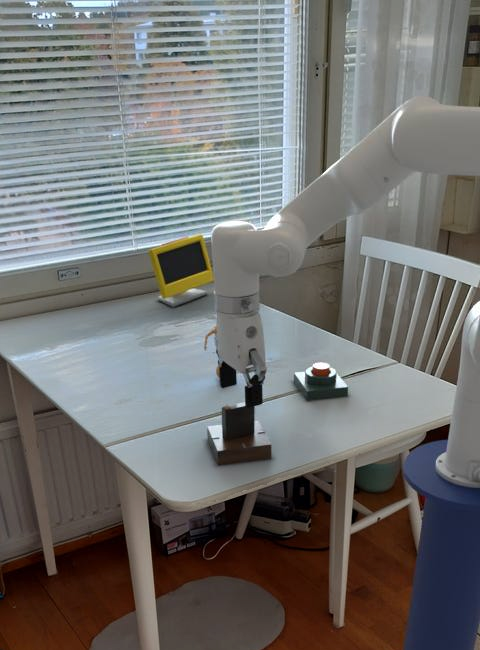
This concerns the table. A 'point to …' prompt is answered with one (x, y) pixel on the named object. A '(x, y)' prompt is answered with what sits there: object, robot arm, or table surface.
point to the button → (321, 369)
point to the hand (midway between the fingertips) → (240, 395)
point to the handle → (237, 421)
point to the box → (320, 385)
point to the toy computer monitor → (181, 269)
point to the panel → (239, 446)
